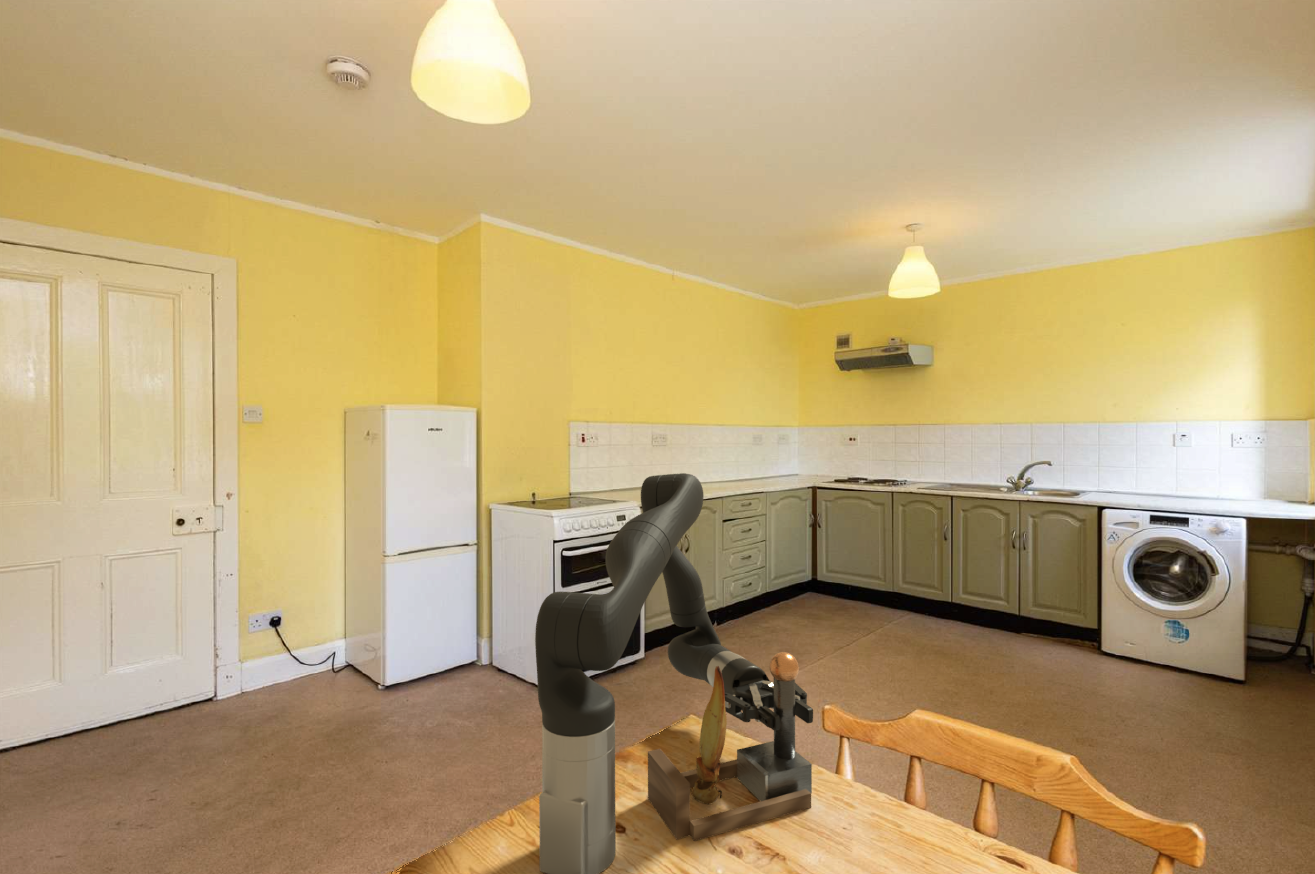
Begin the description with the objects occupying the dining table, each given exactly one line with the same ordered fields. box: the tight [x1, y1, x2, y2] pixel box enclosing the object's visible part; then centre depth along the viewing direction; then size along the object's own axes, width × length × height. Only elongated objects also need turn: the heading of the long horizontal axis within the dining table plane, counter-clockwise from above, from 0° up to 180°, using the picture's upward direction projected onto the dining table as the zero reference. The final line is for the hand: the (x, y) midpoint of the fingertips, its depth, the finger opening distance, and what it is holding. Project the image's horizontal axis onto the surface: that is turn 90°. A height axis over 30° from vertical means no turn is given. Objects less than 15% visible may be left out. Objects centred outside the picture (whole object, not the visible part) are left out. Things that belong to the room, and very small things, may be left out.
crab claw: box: [690, 666, 728, 805], centre depth 89 cm, size 7×5×20 cm
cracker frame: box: [647, 748, 812, 842], centre depth 90 cm, size 21×12×7 cm, turn 113°
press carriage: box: [736, 651, 813, 802], centre depth 94 cm, size 8×8×20 cm
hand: (794, 720), depth 92 cm, fingers open, 5 cm apart
